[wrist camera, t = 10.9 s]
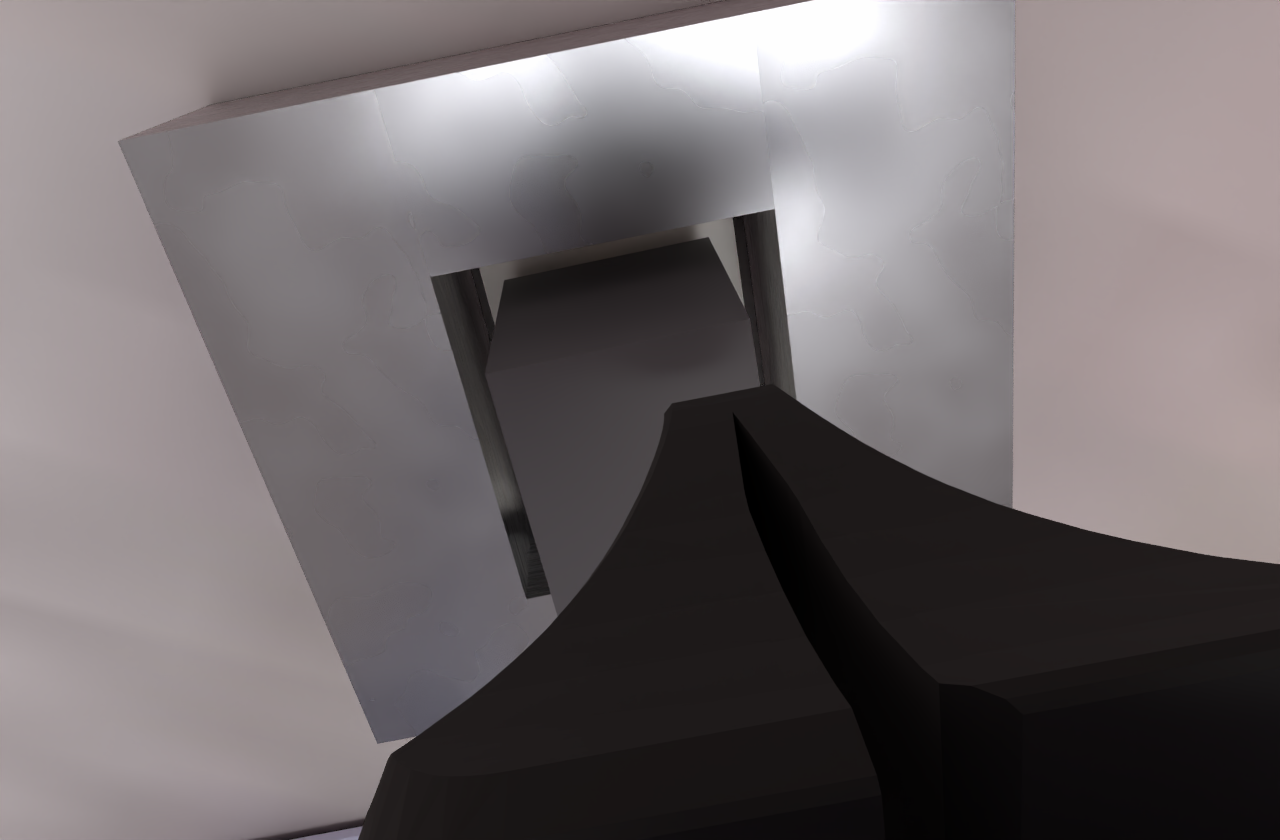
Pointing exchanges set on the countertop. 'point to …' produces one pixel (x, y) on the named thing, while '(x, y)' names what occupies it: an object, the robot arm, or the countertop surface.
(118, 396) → the countertop surface
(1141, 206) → the countertop surface
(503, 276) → the block
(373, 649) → the socket plate
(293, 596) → the countertop surface
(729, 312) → the plug
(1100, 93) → the countertop surface
